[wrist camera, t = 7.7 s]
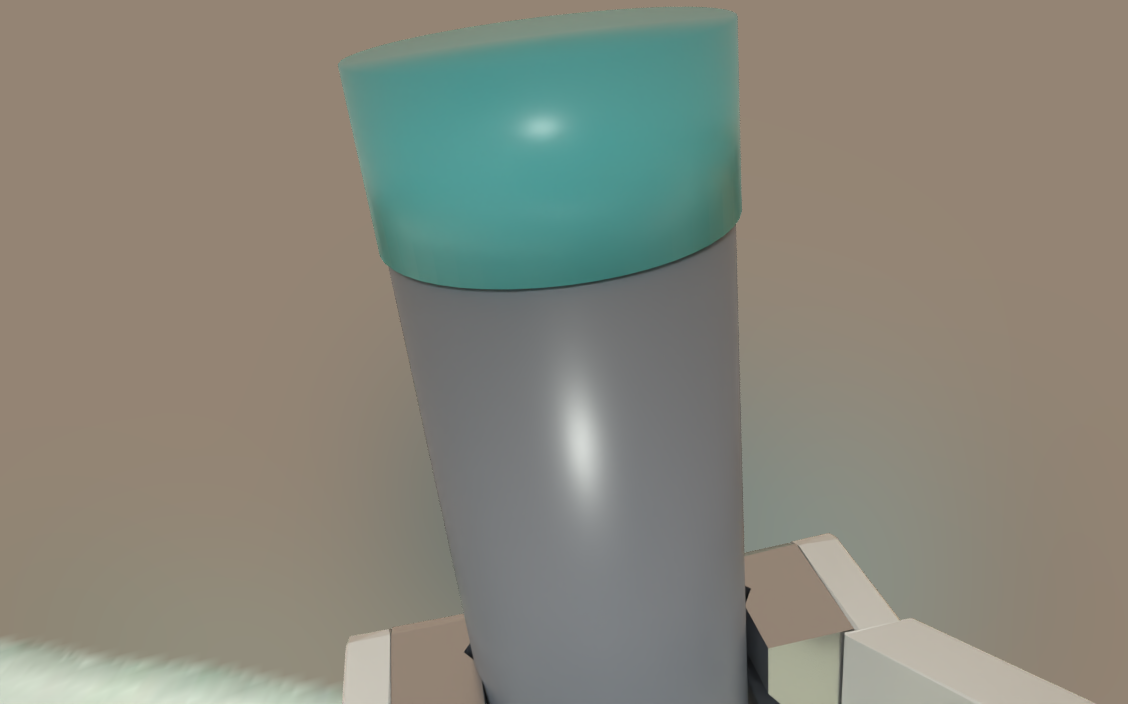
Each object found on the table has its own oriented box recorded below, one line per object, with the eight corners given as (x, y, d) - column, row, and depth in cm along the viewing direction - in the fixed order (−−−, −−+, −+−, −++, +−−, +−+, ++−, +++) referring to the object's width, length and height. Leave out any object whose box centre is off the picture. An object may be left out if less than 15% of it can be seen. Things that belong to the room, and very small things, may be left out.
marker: (511, 1055, 13) (252, 76, 7) (620, 876, 15) (504, 16, 9) (701, 1206, 11) (594, 73, 5) (792, 977, 13) (799, -2, 7)
